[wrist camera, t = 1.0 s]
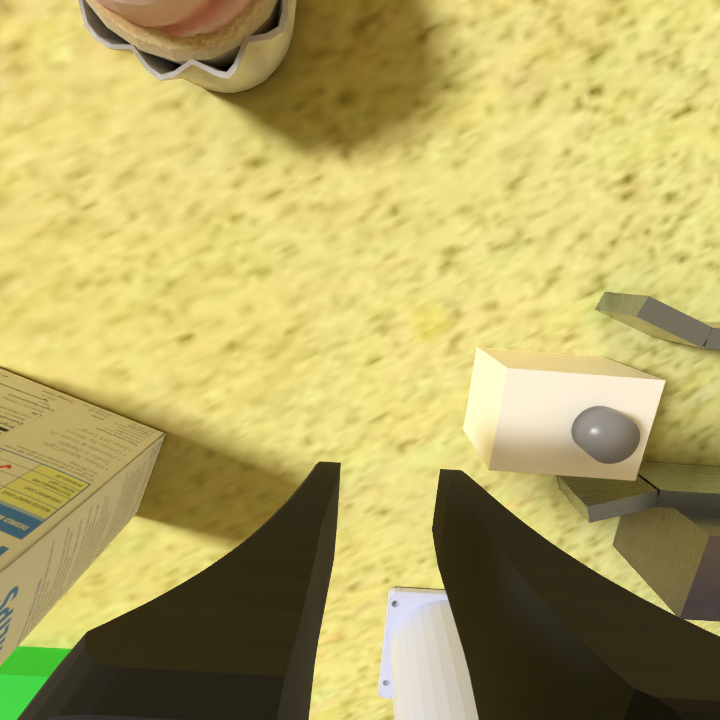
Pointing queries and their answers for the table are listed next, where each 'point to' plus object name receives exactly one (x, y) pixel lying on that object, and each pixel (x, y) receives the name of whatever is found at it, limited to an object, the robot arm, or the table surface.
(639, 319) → the motor bracket
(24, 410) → the light bulb box
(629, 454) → the block
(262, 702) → the robot arm
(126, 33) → the cupcake
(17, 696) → the mechanical part
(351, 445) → the table surface
